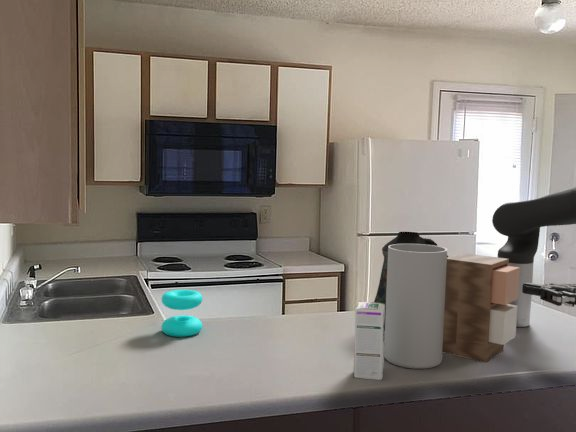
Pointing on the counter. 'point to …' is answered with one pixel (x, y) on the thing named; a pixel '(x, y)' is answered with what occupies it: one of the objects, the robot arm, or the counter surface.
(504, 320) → the light grey drawer
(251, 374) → the counter surface
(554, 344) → the counter surface
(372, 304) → the syrup box
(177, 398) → the counter surface
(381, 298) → the beer stein
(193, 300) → the donuts
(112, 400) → the counter surface
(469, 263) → the wooden drawer cabinet
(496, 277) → the salmon pink block
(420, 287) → the cylinder vase
